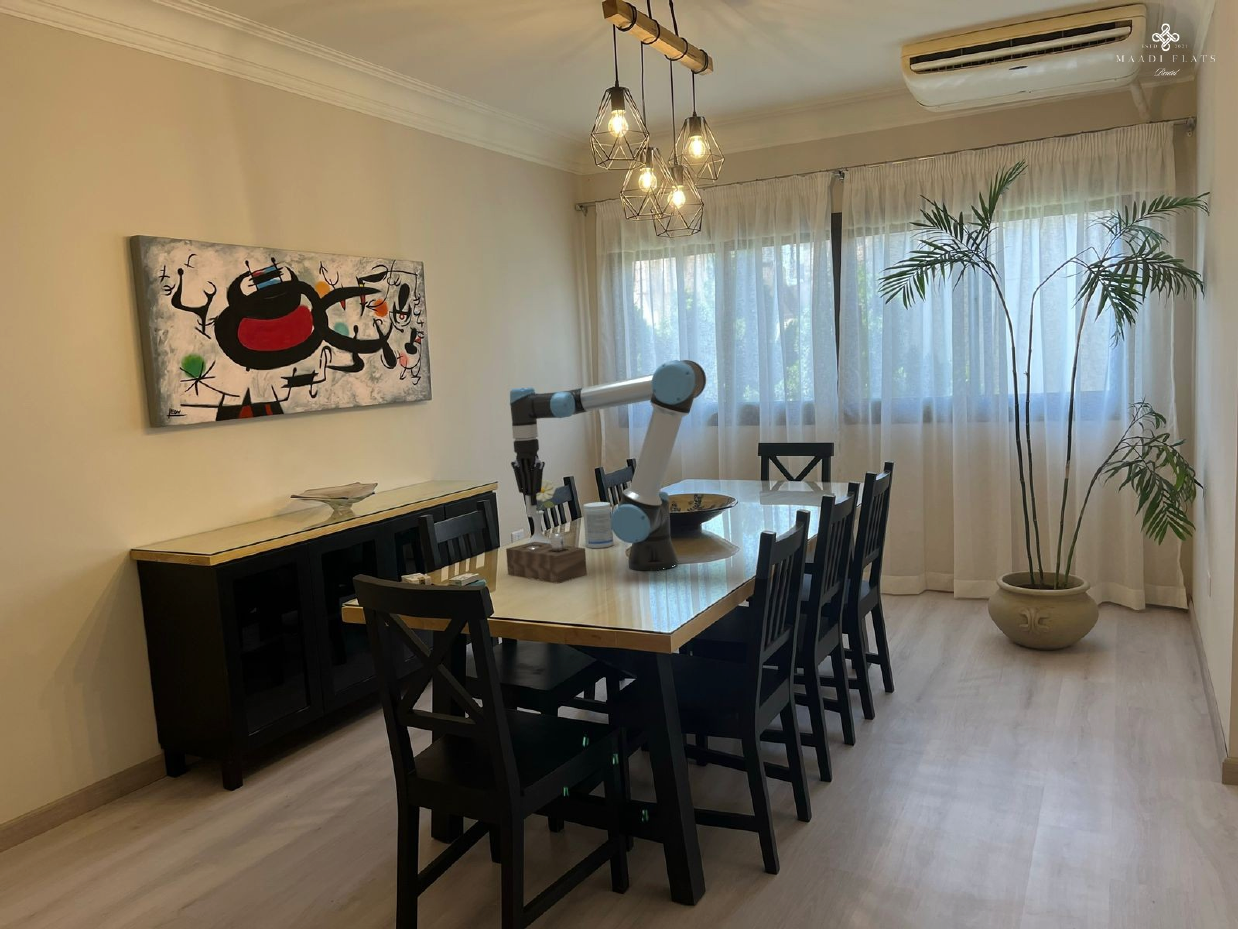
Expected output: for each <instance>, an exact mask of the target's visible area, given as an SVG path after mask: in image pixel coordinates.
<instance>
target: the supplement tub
mask: <svg viewBox="0 0 1238 929" xmlns="http://www.w3.org/2000/svg"><path fill="white" fill-rule="evenodd" d="M582 510H583V523H584V526H583V527H584V537H585V538H584V539H585V546H586V547H587V548H588V549H604V548H609V547H612V546H613V544H614V531H613V530H612V527H611V516H612V507H611V503H610V502H606V501H605V502H604V501H598V502H588V503H584V504H583V508H582Z"/></svg>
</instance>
